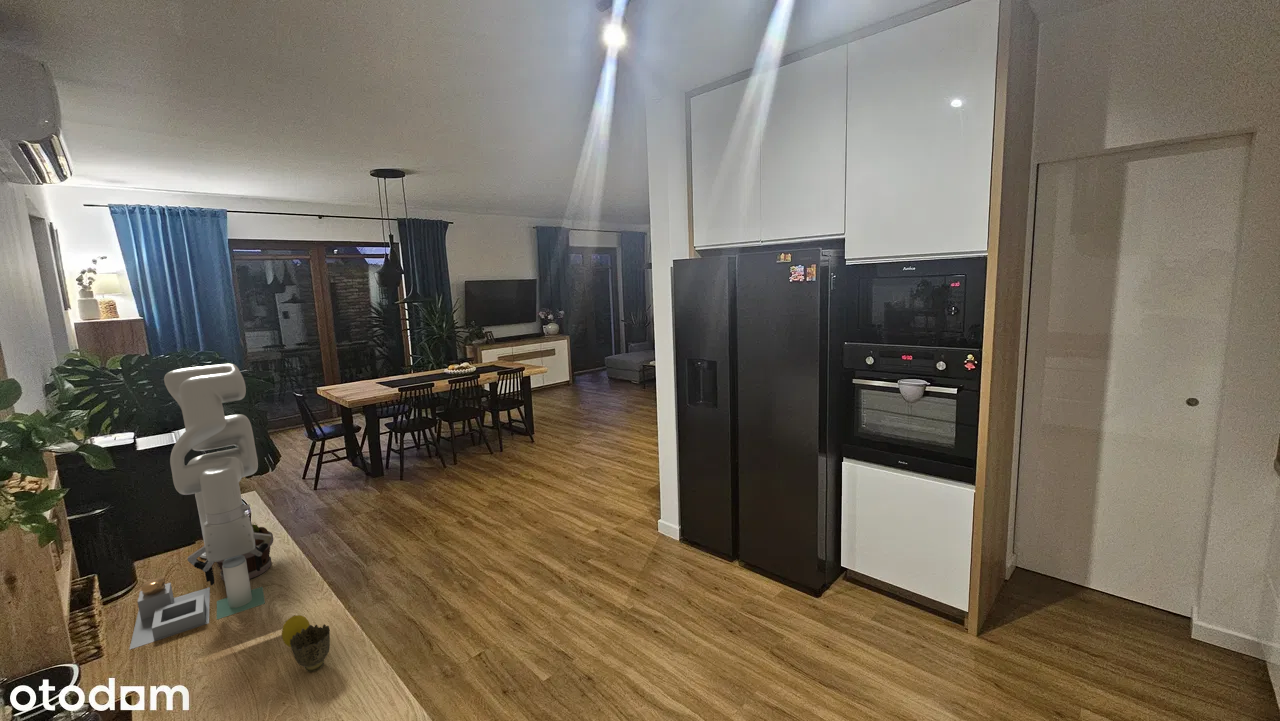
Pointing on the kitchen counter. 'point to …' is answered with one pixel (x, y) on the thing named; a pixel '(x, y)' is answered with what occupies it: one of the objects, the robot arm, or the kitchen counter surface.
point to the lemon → (294, 627)
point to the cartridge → (237, 581)
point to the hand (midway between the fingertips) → (235, 575)
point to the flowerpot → (251, 558)
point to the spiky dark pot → (311, 647)
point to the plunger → (153, 586)
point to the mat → (256, 600)
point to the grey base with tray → (169, 614)
